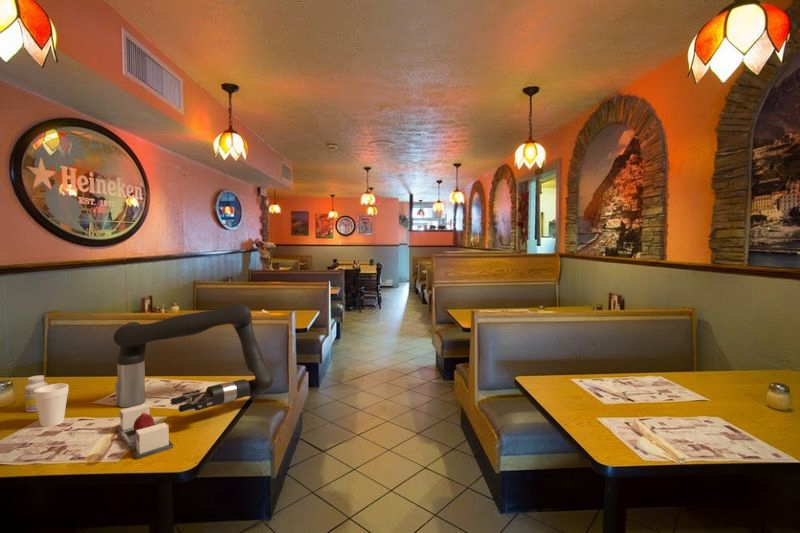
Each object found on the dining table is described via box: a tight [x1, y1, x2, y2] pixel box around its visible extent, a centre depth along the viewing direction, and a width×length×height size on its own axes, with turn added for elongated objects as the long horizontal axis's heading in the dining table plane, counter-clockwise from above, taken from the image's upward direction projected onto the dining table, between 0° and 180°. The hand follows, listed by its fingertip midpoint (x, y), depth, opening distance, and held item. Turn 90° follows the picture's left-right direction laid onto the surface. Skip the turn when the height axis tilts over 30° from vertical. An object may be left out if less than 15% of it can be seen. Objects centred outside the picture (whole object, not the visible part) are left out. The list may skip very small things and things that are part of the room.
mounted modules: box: [119, 403, 170, 454], centre depth 132 cm, size 26×8×6 cm, turn 46°
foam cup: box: [34, 383, 69, 428], centre depth 142 cm, size 10×9×13 cm
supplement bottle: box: [24, 374, 49, 413], centre depth 153 cm, size 7×7×13 cm
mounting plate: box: [115, 421, 174, 460], centre depth 132 cm, size 28×11×2 cm, turn 46°
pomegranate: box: [133, 411, 155, 431], centre depth 132 cm, size 6×6×8 cm
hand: (175, 405), depth 139 cm, fingers open, 8 cm apart
